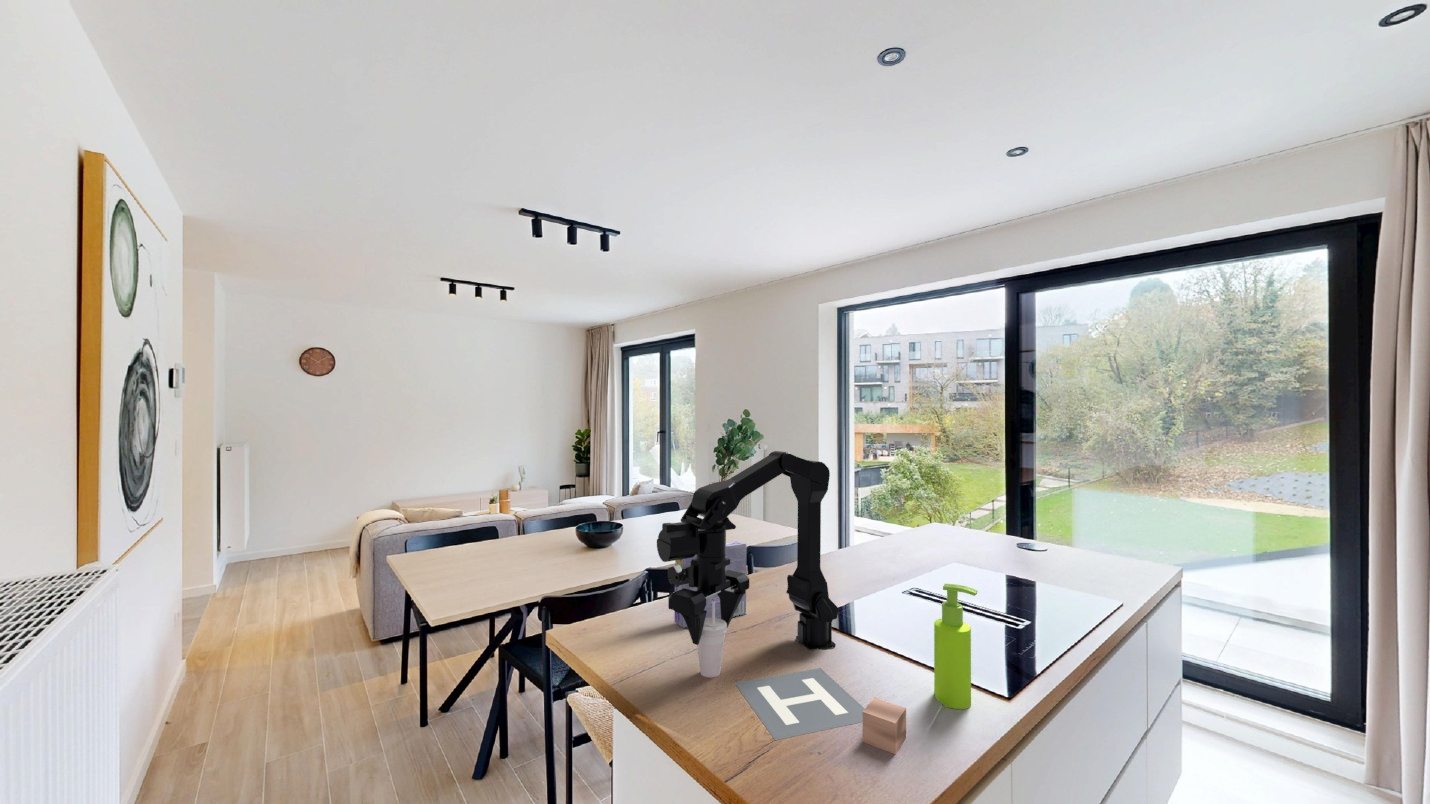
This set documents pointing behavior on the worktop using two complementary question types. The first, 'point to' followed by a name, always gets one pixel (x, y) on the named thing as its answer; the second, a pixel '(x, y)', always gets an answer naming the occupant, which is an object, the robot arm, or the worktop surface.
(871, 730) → the terracotta block
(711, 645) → the smoothie
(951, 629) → the soap dispenser
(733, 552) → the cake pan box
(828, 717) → the board
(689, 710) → the worktop surface
